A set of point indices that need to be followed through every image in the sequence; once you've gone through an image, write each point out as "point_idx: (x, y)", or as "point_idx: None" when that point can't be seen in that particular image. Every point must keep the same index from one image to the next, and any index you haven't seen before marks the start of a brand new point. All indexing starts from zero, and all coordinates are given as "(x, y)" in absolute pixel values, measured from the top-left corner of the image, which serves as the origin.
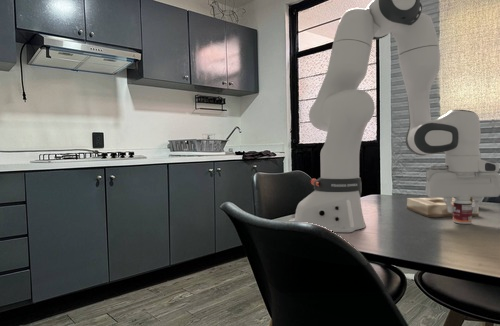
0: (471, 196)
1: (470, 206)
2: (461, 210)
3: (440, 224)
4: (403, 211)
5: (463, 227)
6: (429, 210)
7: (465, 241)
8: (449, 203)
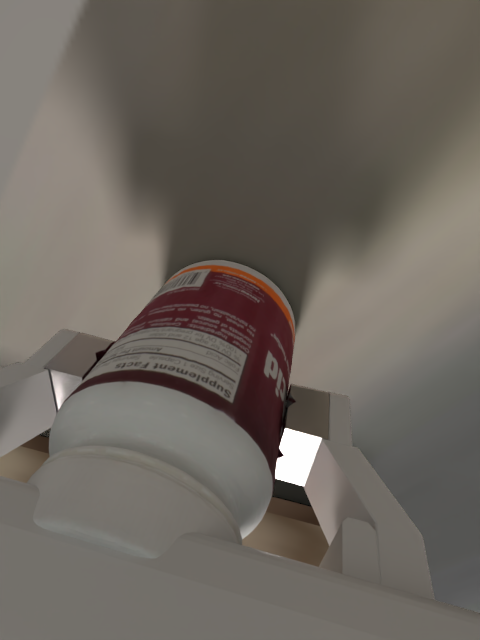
0: (7, 484)
1: (124, 356)
2: (251, 355)
3: (461, 325)
4: None
5: (362, 154)
6: (313, 555)
7: None
8: (377, 491)
